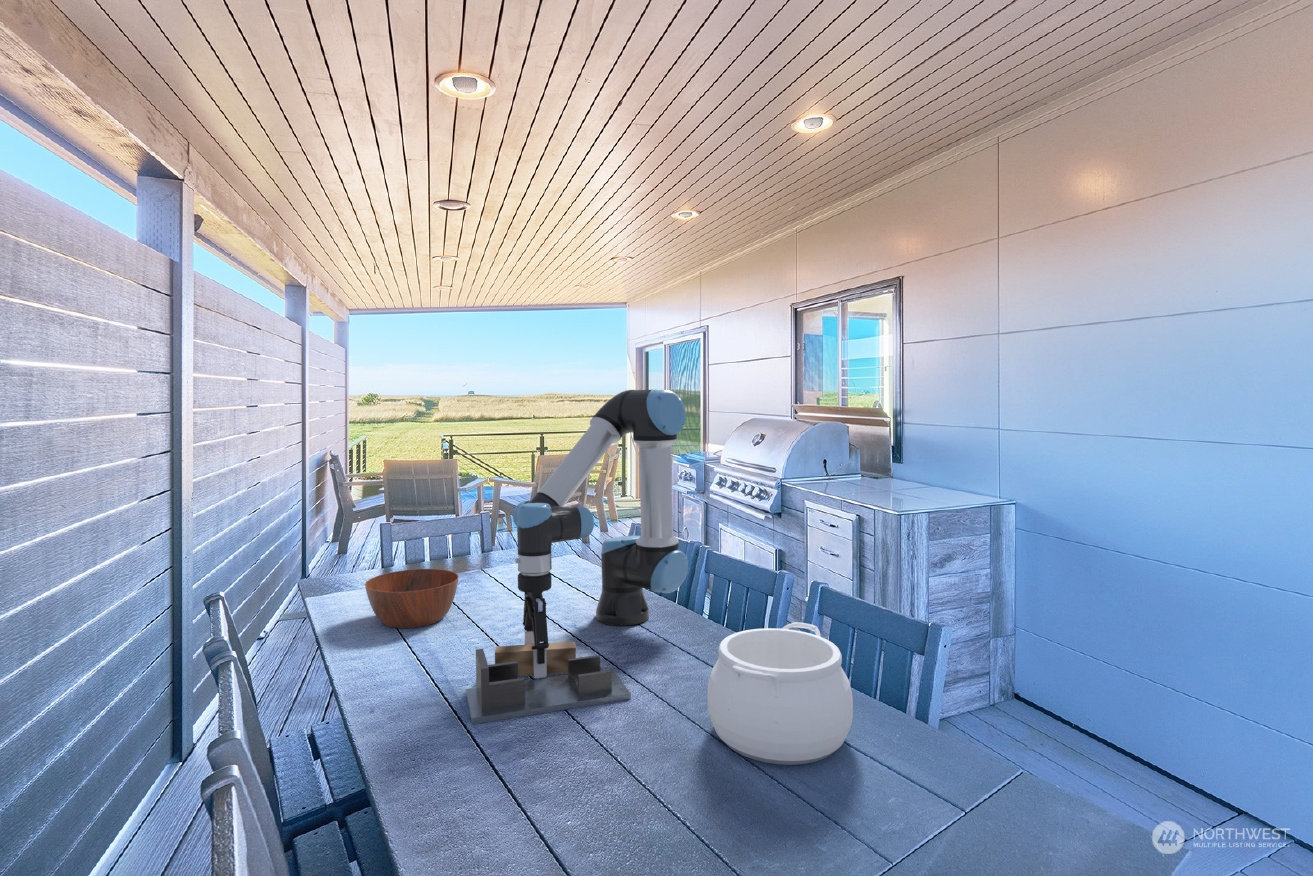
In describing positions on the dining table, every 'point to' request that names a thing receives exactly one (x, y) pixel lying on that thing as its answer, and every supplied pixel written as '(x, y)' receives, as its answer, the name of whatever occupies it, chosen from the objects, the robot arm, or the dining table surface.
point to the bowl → (412, 596)
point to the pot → (780, 695)
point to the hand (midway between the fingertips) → (535, 667)
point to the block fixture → (540, 689)
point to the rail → (525, 657)
